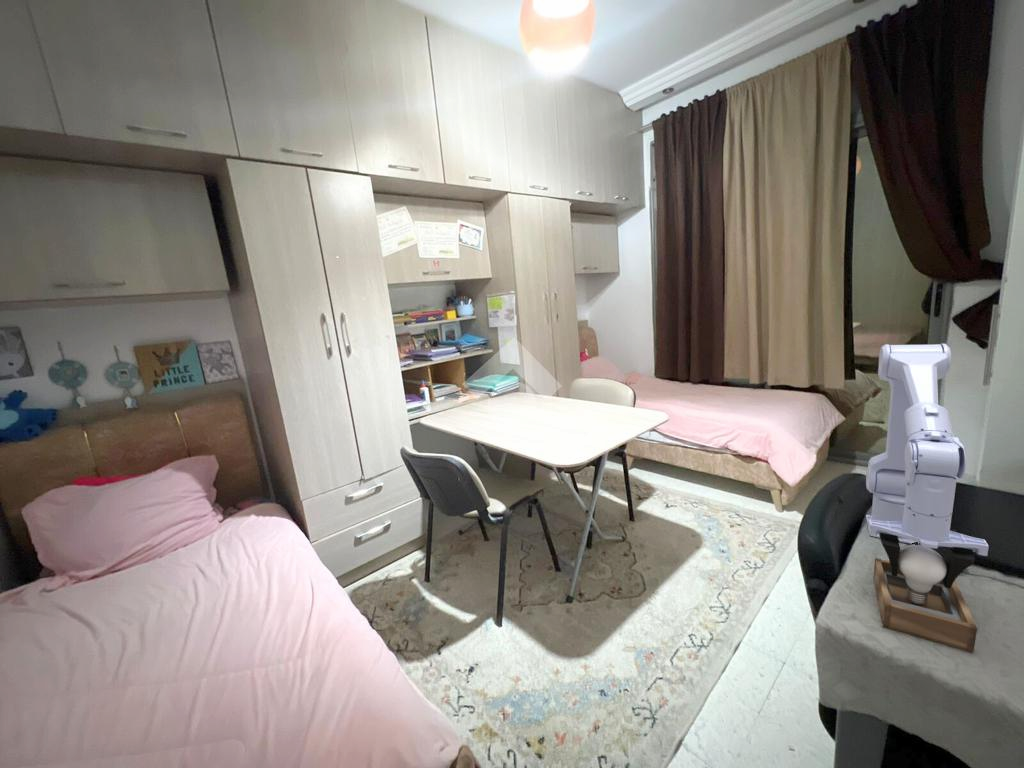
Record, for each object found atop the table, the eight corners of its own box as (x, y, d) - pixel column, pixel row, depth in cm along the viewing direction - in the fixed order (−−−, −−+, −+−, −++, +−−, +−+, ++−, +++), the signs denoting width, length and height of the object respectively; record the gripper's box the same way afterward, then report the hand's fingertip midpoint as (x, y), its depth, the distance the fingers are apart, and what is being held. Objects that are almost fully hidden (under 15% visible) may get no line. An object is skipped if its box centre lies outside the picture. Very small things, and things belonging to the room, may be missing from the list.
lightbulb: (950, 618, 71) (959, 561, 68) (904, 612, 73) (910, 557, 70) (927, 592, 76) (934, 539, 74) (885, 587, 78) (890, 535, 76)
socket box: (873, 578, 82) (875, 557, 81) (949, 596, 76) (952, 574, 75) (882, 627, 71) (885, 604, 70) (973, 653, 65) (977, 628, 64)
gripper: (874, 510, 71) (867, 579, 74) (999, 530, 63) (987, 607, 66) (869, 492, 77) (863, 557, 80) (984, 509, 69) (973, 580, 72)
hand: (919, 578), depth 73 cm, fingers closed on lightbulb, 6 cm apart
